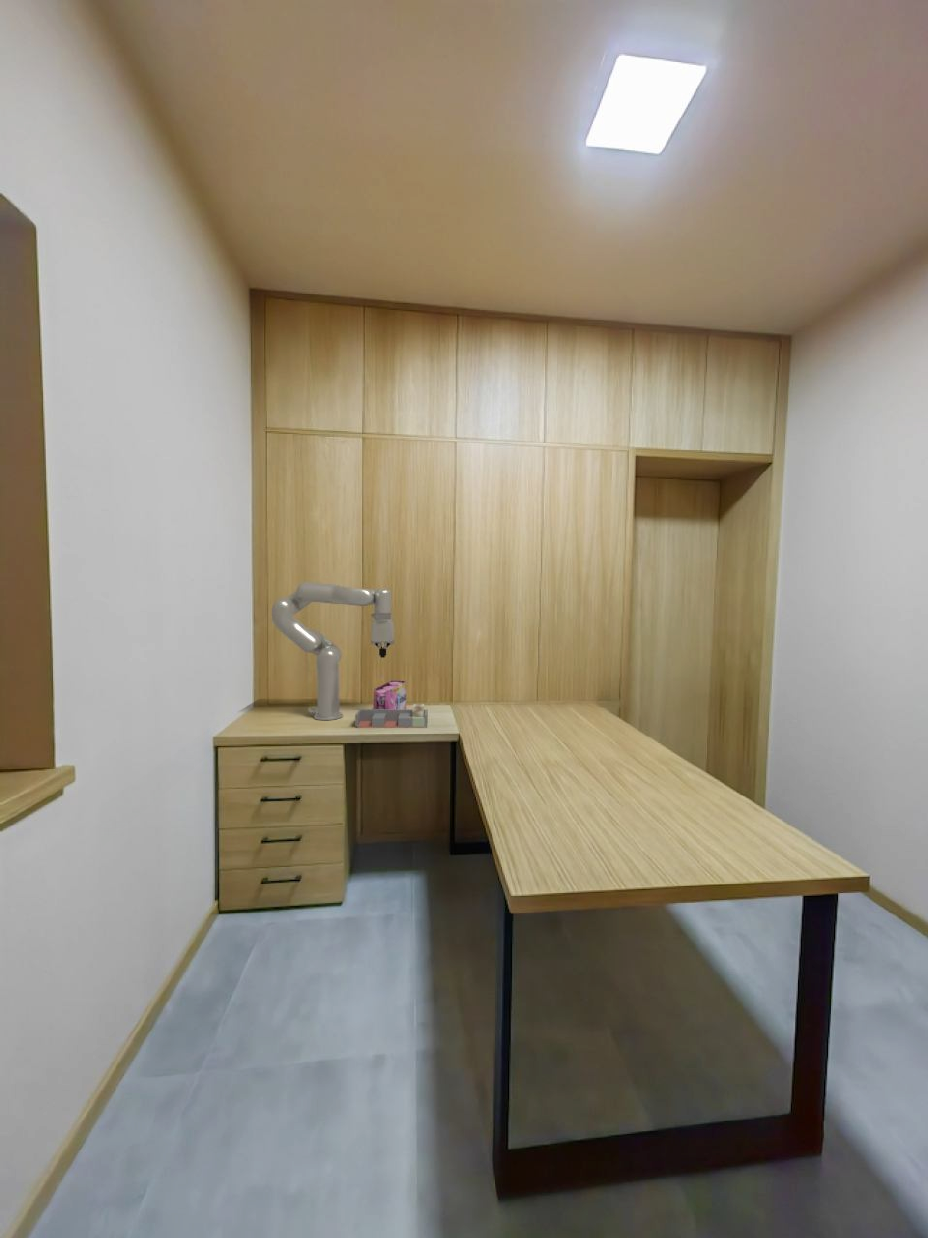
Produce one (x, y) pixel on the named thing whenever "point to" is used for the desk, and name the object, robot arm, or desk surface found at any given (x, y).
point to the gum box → (390, 695)
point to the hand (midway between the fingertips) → (382, 657)
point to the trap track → (389, 718)
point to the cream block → (418, 710)
